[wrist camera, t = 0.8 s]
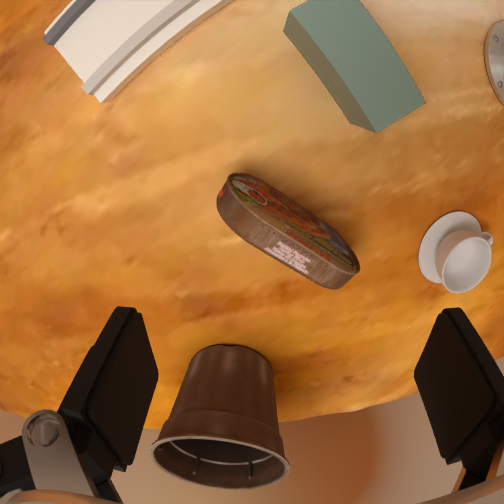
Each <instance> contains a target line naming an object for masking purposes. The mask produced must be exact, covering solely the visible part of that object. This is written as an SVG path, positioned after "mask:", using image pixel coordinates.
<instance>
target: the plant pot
mask: <svg viewBox="0 0 504 504" xmlns="http://www.w3.org/2000/svg"><path fill="white" fill-rule="evenodd" d="M149 455H150V457H151V459H152V461H153V462H154V463H155V464H156V465H157V466H158V467H159V468H160V469H162V470H163V471H165V472H166V473H168V474H170V475H172V476H174V477H176V478H178V479H180V480H183V481H185V482H189V483H192V484H195V485H199V486H204V487H209V488H216V489H226V490H248V489H256V488H262V487H266V486H269V485H272V484H275V483H277V482H279V481H281V480H282V479H284V478H285V477H286V476H287V475H288V473H289V471H290V466H289V462H288V460H287V459H286V458H285V454H284V447H283V440H282V438H281V436H280V434H279V426H278V419H277V410H276V401H275V392H274V383H273V373H272V369H271V366H270V364H269V363H268V361H267V360H266V359H265V358H264V357H262V356H261V355H260V354H258V353H257V352H255V351H253V350H251V349H249V348H246V347H243V346H238V345H237V346H234V347H228V346H224V345H222V344H220V345H214V346H210V347H207V348H205V349H203V350H201V351H199V352H198V353H197V354H196V355H195V356H194V357H193V358H192V359H191V361H190V364H189V367H188V370H187V372H186V375H185V377H184V380H183V382H182V385H181V387H180V390H179V393H178V395H177V398H176V400H175V403H174V406H173V408H172V411H171V413H170V416H169V418H168V420H166V421H165V423H164V424H163V427H162V429H161V432H160V434H159V437H158V439H157V440H156V441H155V442H154V443H153V444H152V445H151V448H150V450H149Z"/></svg>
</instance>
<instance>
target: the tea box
mask: <svg viewBox="0 0 504 504" xmlns="http://www.w3.org/2000/svg"><path fill="white" fill-rule="evenodd" d="M283 32H284V33H285V34H286V36H287V37H288V38H289V39H290V41H291V42H292V43H293V44H294V45H295V47H296V48H297V49H298V51H299V52H300V53H301V54H302V56H303V57H304V58H305V60H306V61H307V62H308V63H309V65H310V66H311V67H312V69H313V70H314V71H315V73H316V74H317V76H318V77H319V78H320V80H321V81H322V82H323V84H324V85H325V87H326V88H327V89H328V91H329V92H330V94H331V95H332V97H333V98H334V100H335V101H336V103H337V104H338V105H339V107H340V108H341V110H342V111H343V113H344V115H345V116H346V118H347V119H348V121H349V122H350V123H351V124H354V125H357V126H359V127H362V128H365V129H367V130H370V131H372V132H375V133H378V132H380V131H381V130H383V129H384V128H386V127H388V126H389V125H391V124H392V123H394V122H396V121H397V120H399V119H400V118H402V117H404V116H405V115H407V114H409V113H410V112H412V111H413V110H415V109H417V108H418V107H420V106H422V105H423V104H425V103H426V102H425V100H424V98H423V96H422V95H421V93H420V91H419V89H418V87H417V85H416V84H415V82H414V80H413V78H412V77H411V75H410V73H409V72H408V70H407V68H406V67H405V65H404V63H403V62H402V60H401V59H400V57H399V55H398V54H397V52H396V51H395V49H394V48H393V46H392V45H391V43H390V42H389V40H388V39H387V37H386V36H385V34H384V33H383V31H382V30H381V29H380V27H379V26H378V24H377V23H376V22H375V20H374V19H373V17H372V16H371V15H370V13H369V12H368V11H367V10H366V8H365V7H364V6H363V4H362V3H361V2H360V1H359V0H308V1H306V2H305V3H303V4H301V5H299V6H297V7H296V8H294V9H292V10H290V11H289V14H288V17H287V21H286V24H285V27H284V30H283Z"/></svg>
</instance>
